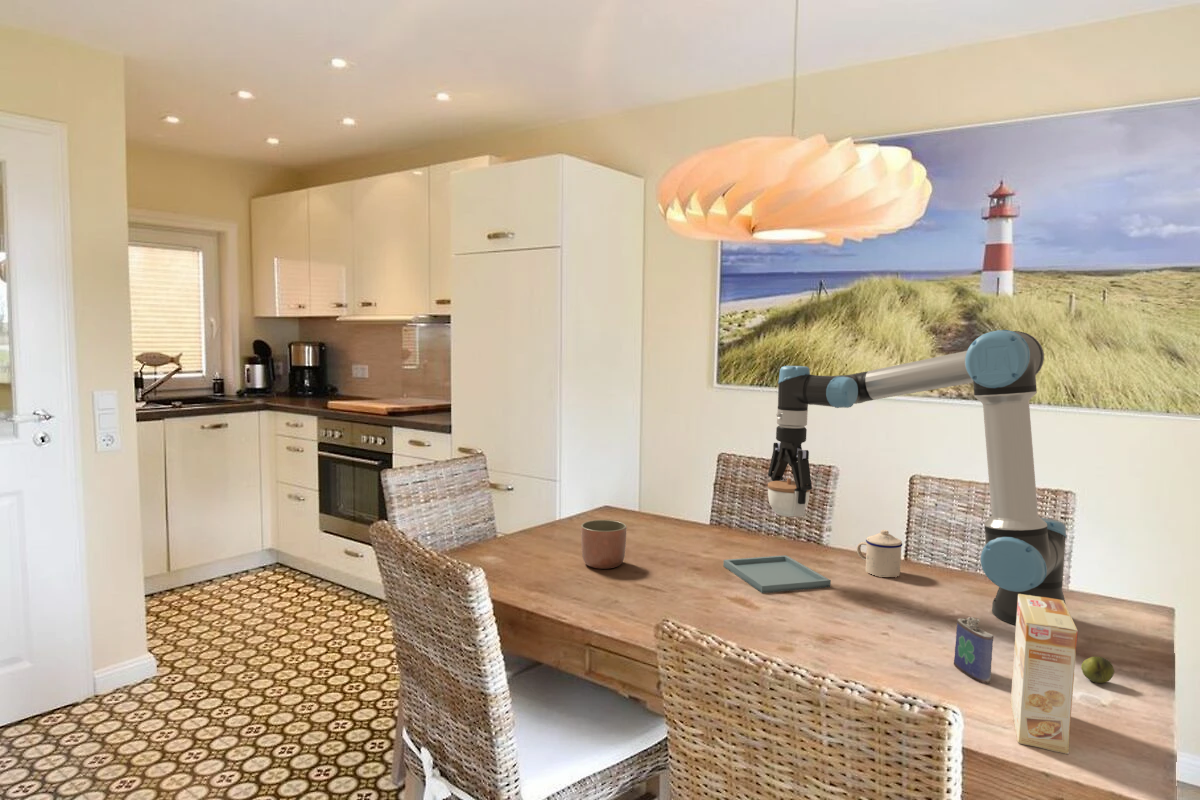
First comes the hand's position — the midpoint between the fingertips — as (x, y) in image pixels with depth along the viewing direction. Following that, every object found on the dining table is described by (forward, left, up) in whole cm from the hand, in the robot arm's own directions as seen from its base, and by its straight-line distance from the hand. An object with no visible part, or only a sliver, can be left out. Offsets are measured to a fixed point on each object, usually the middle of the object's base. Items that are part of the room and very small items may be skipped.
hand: (787, 510), depth 194 cm
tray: (+1, +2, -18) cm, 18 cm away
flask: (-59, -6, -18) cm, 62 cm away
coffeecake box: (-78, -2, -18) cm, 80 cm away
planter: (+21, +43, -18) cm, 52 cm away
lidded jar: (0, 0, -1) cm, 1 cm away
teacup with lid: (-2, -27, -18) cm, 32 cm away
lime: (-68, -26, -18) cm, 75 cm away
